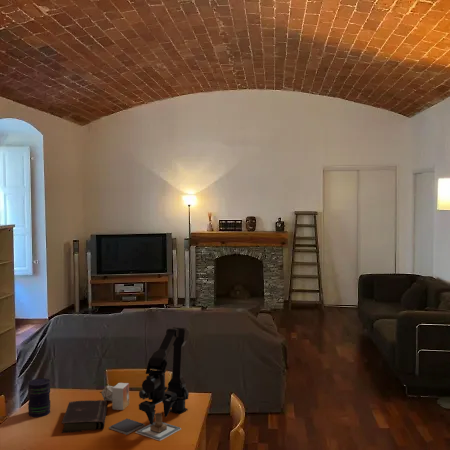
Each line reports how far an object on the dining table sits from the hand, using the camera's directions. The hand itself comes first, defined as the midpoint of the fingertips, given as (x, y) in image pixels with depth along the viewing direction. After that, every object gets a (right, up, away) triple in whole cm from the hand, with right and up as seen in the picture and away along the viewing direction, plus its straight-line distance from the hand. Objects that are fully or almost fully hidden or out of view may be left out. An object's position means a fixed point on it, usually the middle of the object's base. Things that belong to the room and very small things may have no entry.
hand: (158, 420), depth 227 cm
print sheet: (0, -5, 0) cm, 4 cm away
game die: (-29, -3, +34) cm, 45 cm away
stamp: (0, -4, 0) cm, 4 cm away
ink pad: (-14, -4, +4) cm, 16 cm away
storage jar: (-58, -4, +20) cm, 62 cm away
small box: (-22, -4, +27) cm, 35 cm away
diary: (-35, -5, +12) cm, 37 cm away
